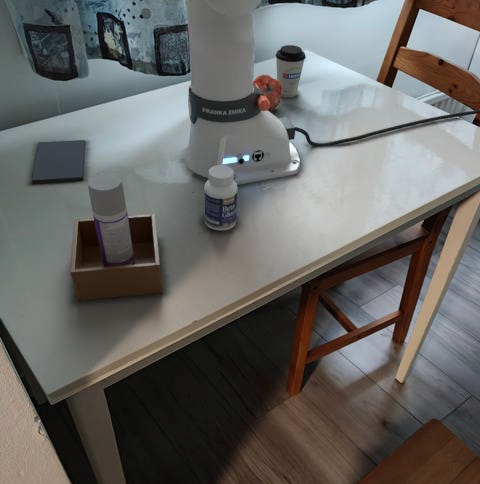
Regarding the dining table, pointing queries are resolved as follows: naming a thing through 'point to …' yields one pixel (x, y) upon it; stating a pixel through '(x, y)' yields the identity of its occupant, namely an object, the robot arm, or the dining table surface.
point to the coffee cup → (289, 69)
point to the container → (111, 219)
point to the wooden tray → (116, 277)
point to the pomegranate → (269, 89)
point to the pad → (59, 161)
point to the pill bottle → (220, 198)
